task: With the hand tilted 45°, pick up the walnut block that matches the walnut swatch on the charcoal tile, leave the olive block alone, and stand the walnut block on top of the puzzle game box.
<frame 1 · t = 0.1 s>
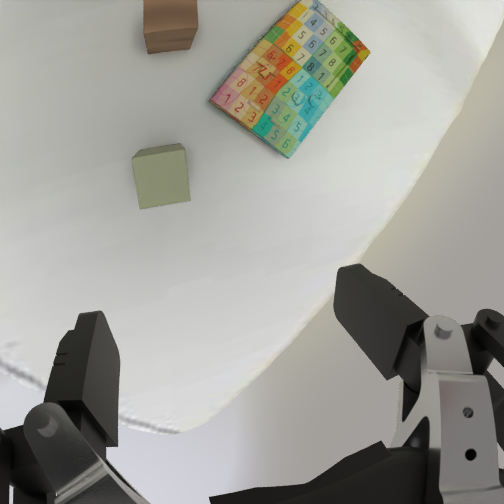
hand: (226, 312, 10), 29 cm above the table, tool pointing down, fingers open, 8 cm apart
olive block: (162, 166, 34), on the table
puzzle game: (287, 72, 33), on the table
walnut block: (168, 33, 27), on the table
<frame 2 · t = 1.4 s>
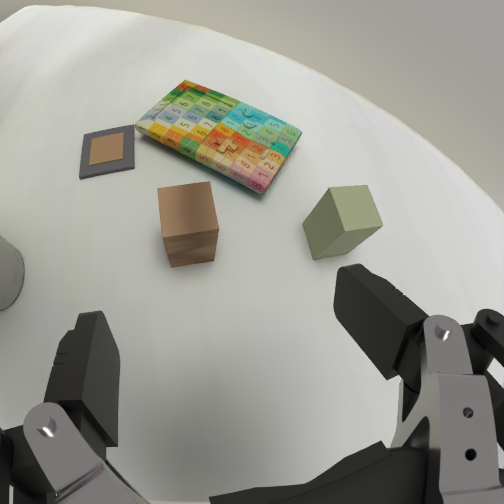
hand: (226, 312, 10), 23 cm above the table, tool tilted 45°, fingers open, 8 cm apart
olive block: (325, 238, 38), on the table
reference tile: (107, 151, 37), on the table
puzzle game: (217, 143, 41), on the table
walnut block: (189, 244, 35), on the table
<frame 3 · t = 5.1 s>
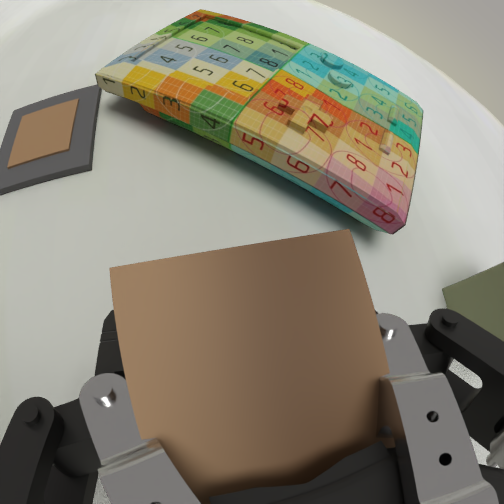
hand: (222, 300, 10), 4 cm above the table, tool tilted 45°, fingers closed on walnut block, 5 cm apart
olive block: (470, 313, 17), on the table
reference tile: (46, 137, 16), on the table
puzzle game: (266, 116, 20), on the table
walnut block: (227, 363, 13), on the table, touching gripper
when the fingers open (11 cm above the table, at t = 10.5 s): walnut block drops 2 cm, point 4 cm above the table.
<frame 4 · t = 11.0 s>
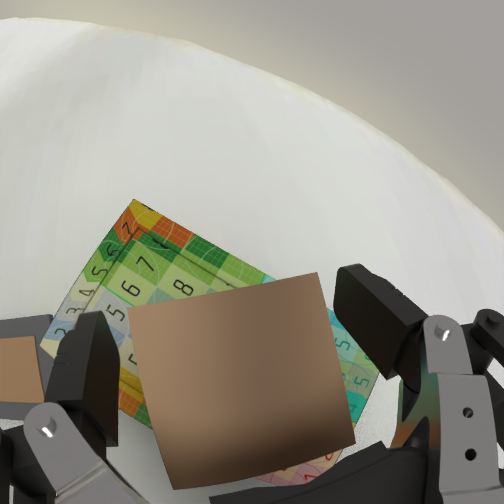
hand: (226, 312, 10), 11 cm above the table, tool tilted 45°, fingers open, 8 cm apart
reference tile: (20, 370, 16), on the table
puzzle game: (215, 357, 20), on the table
walnut block: (226, 365, 15), point 4 cm above the table
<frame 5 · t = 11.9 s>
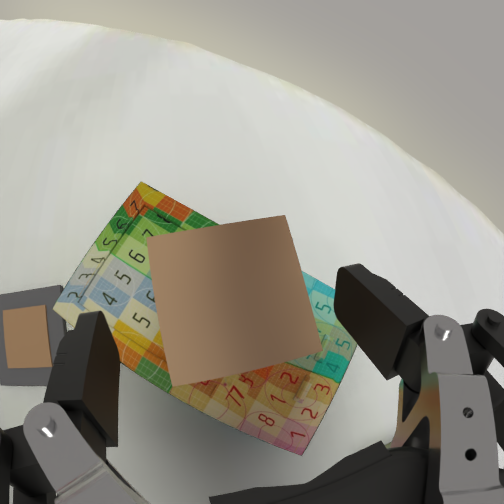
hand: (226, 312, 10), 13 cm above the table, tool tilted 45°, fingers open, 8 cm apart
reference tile: (29, 338, 19), on the table
puzzle game: (210, 323, 23), on the table, touching walnut block
walnut block: (219, 324, 18), point 4 cm above the table, touching puzzle game
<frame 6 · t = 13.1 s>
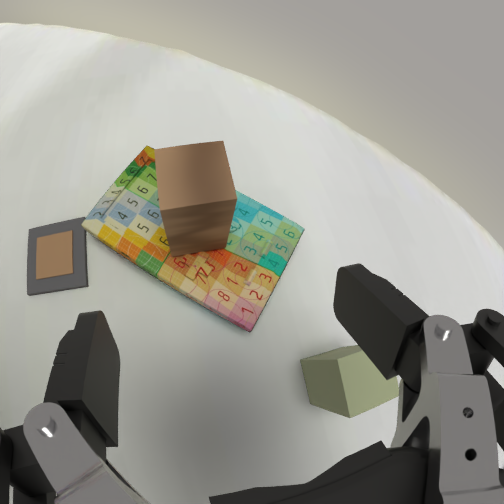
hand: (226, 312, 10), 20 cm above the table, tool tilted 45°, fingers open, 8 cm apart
olive block: (326, 375, 29), on the table
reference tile: (56, 256, 28), on the table
puzzle game: (190, 240, 32), on the table, touching walnut block
walnut block: (194, 227, 28), point 4 cm above the table, touching puzzle game
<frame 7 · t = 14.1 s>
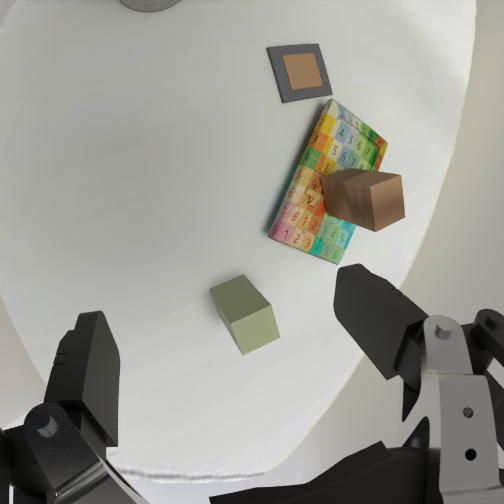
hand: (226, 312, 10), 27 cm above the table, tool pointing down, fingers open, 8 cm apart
olive block: (232, 296, 41), on the table
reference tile: (300, 71, 34), on the table
puzzle game: (321, 181, 41), on the table, touching walnut block
walnut block: (339, 190, 37), point 4 cm above the table, touching puzzle game
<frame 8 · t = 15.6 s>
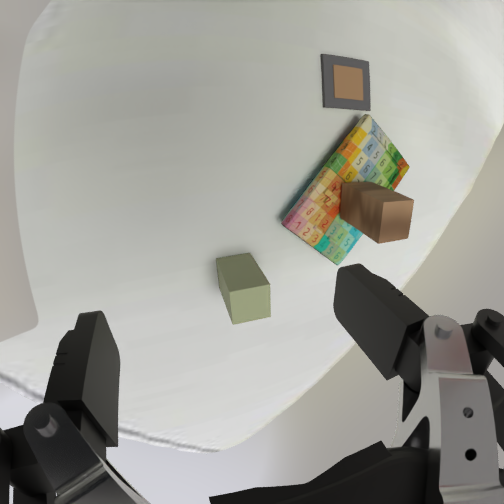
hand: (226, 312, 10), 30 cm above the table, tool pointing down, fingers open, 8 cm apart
olive block: (234, 270, 44), on the table
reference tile: (346, 82, 36), on the table
puzzle game: (340, 186, 44), on the table, touching walnut block
walnut block: (355, 199, 40), point 4 cm above the table, touching puzzle game
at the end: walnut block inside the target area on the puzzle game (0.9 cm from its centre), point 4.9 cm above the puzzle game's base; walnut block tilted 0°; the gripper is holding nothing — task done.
